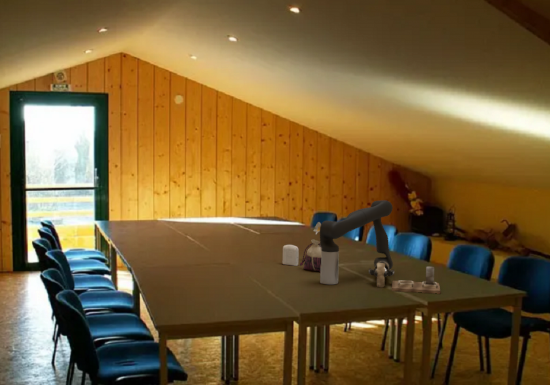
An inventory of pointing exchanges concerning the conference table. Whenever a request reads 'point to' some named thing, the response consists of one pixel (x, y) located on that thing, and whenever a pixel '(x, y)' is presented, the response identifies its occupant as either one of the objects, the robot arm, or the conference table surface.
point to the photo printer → (290, 255)
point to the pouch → (312, 256)
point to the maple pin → (380, 274)
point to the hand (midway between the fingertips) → (380, 274)
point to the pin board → (418, 284)
